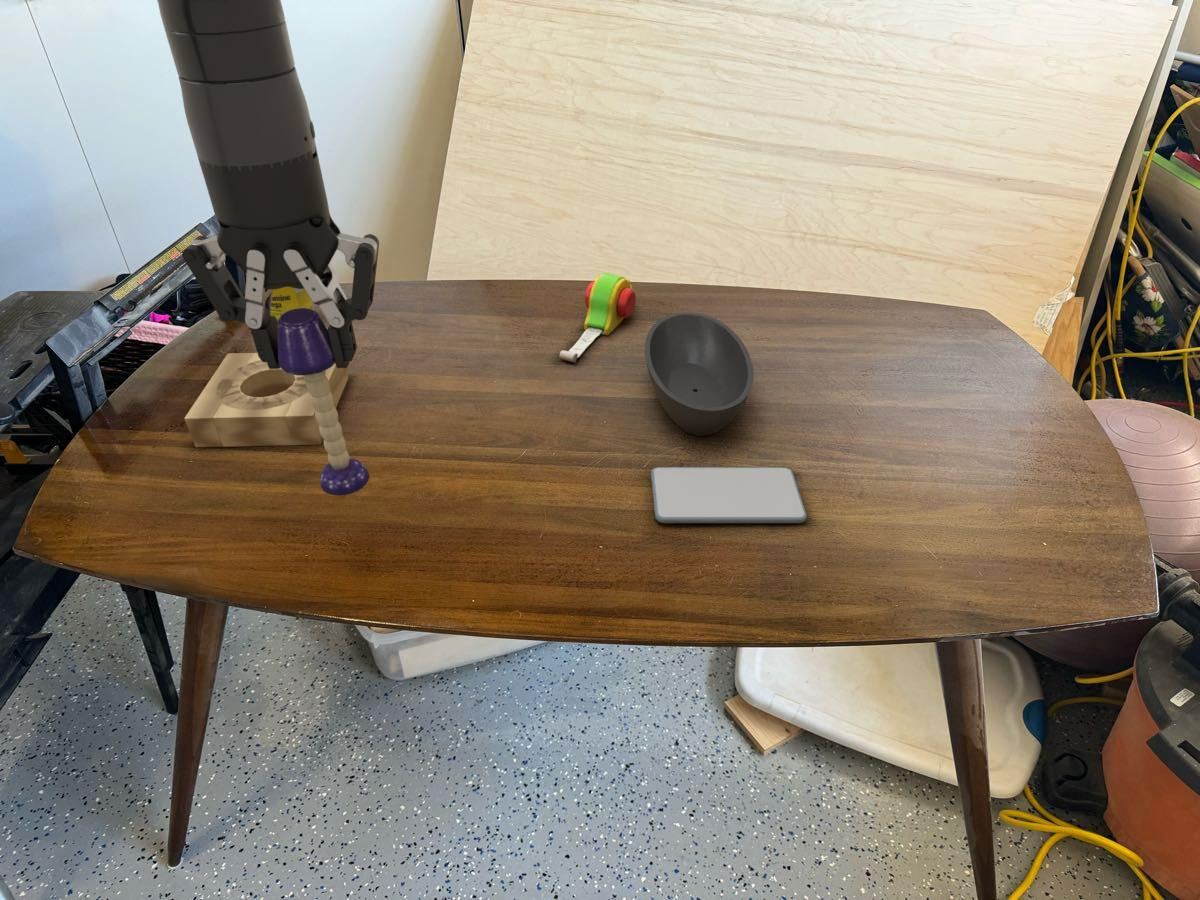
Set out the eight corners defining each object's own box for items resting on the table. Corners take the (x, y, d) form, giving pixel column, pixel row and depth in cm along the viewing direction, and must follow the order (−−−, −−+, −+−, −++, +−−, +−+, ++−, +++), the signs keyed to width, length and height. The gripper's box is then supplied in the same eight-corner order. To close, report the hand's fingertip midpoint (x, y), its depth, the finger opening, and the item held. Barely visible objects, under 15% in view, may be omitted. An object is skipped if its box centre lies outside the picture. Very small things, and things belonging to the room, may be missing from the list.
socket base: (195, 447, 89) (183, 418, 87) (236, 380, 100) (227, 353, 98) (320, 444, 89) (313, 415, 87) (348, 378, 100) (342, 350, 98)
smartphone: (808, 518, 78) (655, 518, 77) (807, 526, 78) (655, 526, 78) (791, 465, 84) (650, 465, 84) (790, 473, 85) (650, 472, 85)
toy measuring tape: (647, 306, 116) (649, 263, 112) (587, 369, 102) (586, 323, 98) (608, 297, 118) (608, 255, 114) (544, 358, 104) (541, 313, 100)
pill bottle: (261, 330, 111) (238, 255, 104) (287, 310, 115) (267, 237, 109) (300, 336, 109) (279, 261, 102) (325, 316, 114) (307, 242, 107)
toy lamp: (355, 502, 69) (314, 331, 59) (304, 496, 69) (255, 326, 59) (376, 468, 73) (341, 302, 62) (328, 463, 73) (285, 298, 63)
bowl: (727, 353, 105) (732, 311, 101) (763, 455, 87) (770, 408, 84) (635, 356, 104) (637, 313, 101) (653, 459, 87) (655, 412, 83)
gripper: (122, 162, 50) (203, 390, 60) (351, 160, 50) (393, 387, 61) (170, 129, 56) (236, 341, 66) (374, 127, 56) (409, 339, 67)
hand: (311, 362), depth 63 cm, fingers closed on toy lamp, 4 cm apart
